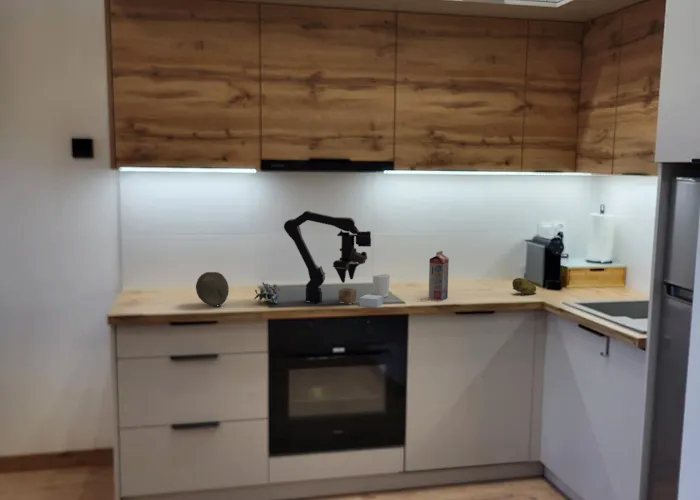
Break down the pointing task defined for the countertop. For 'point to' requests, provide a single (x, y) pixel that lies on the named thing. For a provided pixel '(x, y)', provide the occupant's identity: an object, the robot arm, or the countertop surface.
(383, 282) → the white cup
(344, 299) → the walnut cube
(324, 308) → the countertop surface
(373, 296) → the riser block
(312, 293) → the robot arm
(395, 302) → the countertop surface
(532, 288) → the potato
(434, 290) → the juice carton
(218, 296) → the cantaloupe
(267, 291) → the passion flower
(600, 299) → the countertop surface
